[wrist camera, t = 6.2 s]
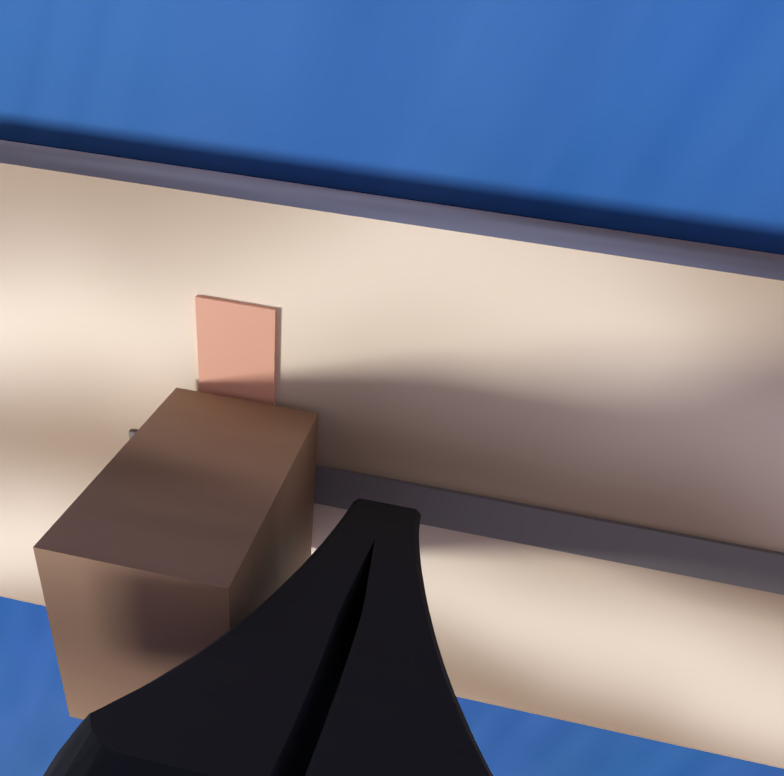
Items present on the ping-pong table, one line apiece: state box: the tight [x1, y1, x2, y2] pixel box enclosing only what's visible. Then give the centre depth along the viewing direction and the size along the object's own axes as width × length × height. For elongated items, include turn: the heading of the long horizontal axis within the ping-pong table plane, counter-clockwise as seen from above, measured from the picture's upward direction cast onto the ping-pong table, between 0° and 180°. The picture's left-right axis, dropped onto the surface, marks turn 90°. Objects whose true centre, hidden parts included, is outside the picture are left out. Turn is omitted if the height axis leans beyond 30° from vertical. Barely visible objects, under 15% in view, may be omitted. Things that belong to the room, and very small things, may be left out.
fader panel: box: [0, 140, 784, 769], centre depth 15 cm, size 12×28×2 cm, turn 84°
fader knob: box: [33, 388, 318, 720], centre depth 13 cm, size 4×3×5 cm
